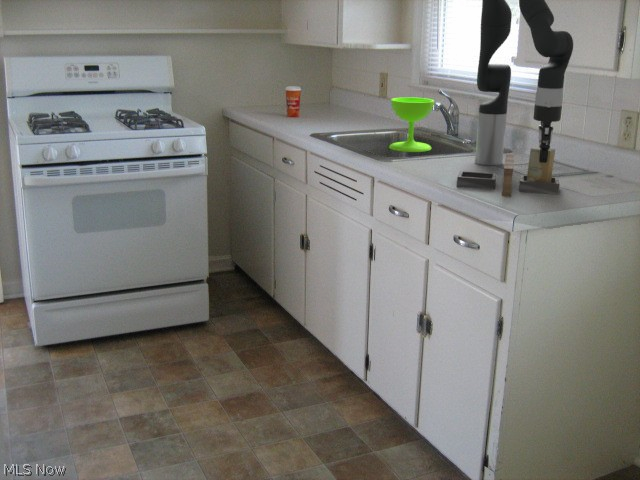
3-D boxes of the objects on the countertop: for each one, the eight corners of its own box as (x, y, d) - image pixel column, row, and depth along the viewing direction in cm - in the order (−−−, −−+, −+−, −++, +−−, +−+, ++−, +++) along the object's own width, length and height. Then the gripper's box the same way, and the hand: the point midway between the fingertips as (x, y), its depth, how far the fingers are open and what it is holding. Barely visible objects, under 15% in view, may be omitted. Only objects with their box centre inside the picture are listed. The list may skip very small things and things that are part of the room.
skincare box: (525, 189, 218) (529, 148, 215) (529, 186, 222) (534, 146, 218) (546, 192, 215) (551, 150, 211) (551, 189, 218) (555, 148, 215)
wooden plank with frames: (461, 175, 235) (462, 150, 233) (556, 181, 228) (559, 156, 226) (454, 192, 213) (456, 165, 210) (559, 200, 206) (562, 172, 204)
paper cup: (283, 117, 353) (283, 87, 349) (287, 114, 360) (287, 85, 356) (298, 117, 352) (299, 88, 347) (303, 115, 359) (303, 86, 354)
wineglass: (419, 153, 270) (421, 103, 264) (381, 148, 278) (383, 100, 273) (438, 147, 282) (441, 99, 277) (401, 142, 291) (404, 96, 285)
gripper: (534, 100, 218) (528, 154, 223) (535, 106, 205) (529, 163, 210) (560, 101, 217) (554, 155, 222) (563, 107, 203) (557, 165, 208)
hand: (542, 159), depth 216 cm, fingers open, 8 cm apart
